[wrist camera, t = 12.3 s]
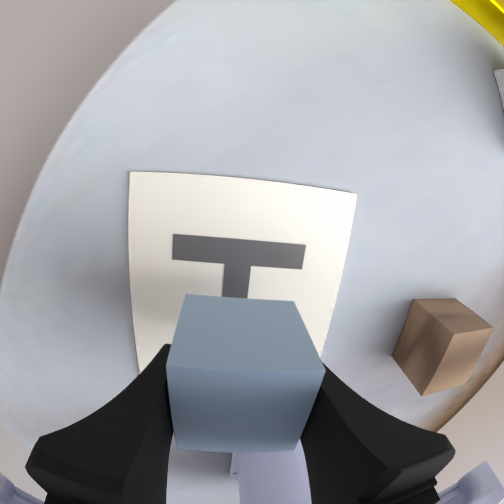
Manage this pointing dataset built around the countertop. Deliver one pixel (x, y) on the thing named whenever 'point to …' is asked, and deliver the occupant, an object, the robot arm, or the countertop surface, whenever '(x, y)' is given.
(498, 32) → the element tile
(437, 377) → the walnut block
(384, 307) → the countertop surface
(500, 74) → the small box
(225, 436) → the dusty blue cube
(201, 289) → the letter card
